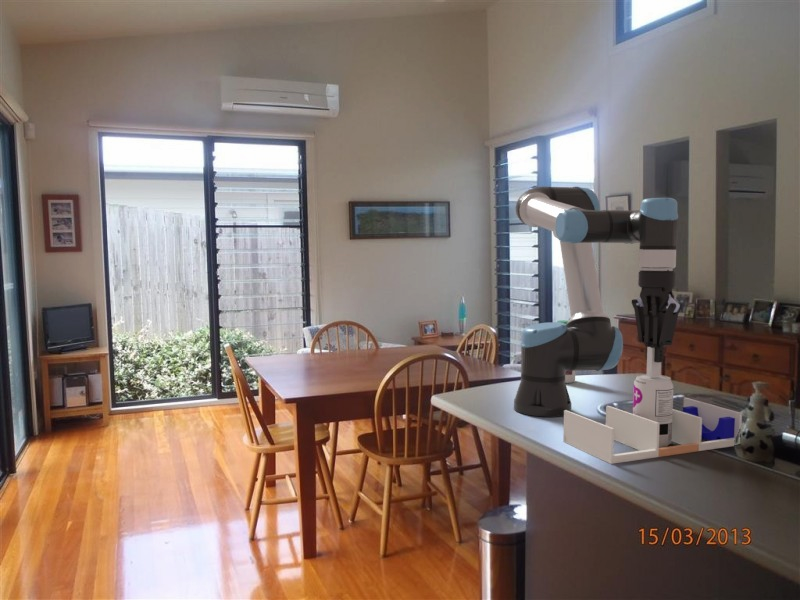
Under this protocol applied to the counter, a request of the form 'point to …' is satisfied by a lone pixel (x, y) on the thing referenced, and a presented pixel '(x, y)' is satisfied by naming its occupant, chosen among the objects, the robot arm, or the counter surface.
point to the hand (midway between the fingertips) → (653, 376)
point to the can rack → (646, 432)
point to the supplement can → (655, 403)
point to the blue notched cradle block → (721, 431)
